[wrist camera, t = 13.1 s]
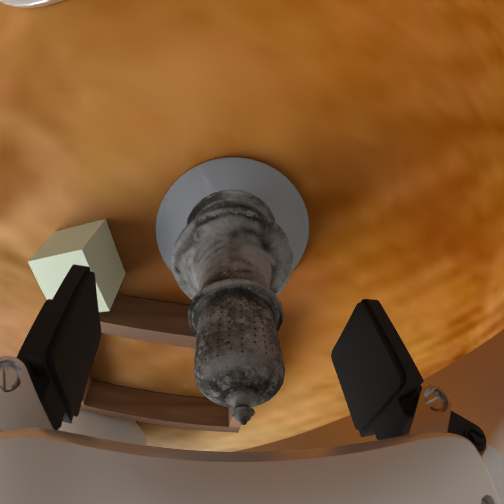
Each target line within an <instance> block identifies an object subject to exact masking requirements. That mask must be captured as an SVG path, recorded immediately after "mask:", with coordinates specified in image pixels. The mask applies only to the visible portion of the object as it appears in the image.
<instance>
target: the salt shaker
mask: <svg viewBox="0 0 504 504" xmlns="http://www.w3.org/2000/svg"><path fill="white" fill-rule="evenodd" d="M293 259H294V257H293V252H292V247H291V243H290V241H289V239H288V238H287V236H286V234H285V232H284V230H283V229H282V228H281V227H280V226H279V225H278V224H277V223H276V222H275V218H274V216H273V214H272V212H271V210H270V209H269V207H268V206H267V205H266V204H265V203H264V202H263V201H262V200H261V199H260V198H258V197H256V196H254V195H252V194H251V193H248V192H244V191H240V190H223V191H219V192H215V193H212V194H210V195H209V196H207V197H205V198H203V199H202V200H201V201H200V202H199V203H198V204H197V205H196V206H195V207H194V208H193V209H192V211H191V213H190V215H189V216H188V219H187V223H186V227H185V228H184V229H183V230H182V232H181V233H180V235H179V237H178V239H177V241H176V243H175V244H174V249H173V254H172V259H171V260H172V269H173V274H174V277H175V279H176V281H177V284H178V286H179V287H180V288H181V290H182V291H183V292H184V293H185V294H186V296H187V297H189V298H190V299H191V300H192V301H191V303H190V307H189V311H188V319H189V324H190V326H191V328H192V330H193V332H194V333H195V334H196V349H195V364H194V374H195V380H196V384H197V386H198V388H199V389H200V391H201V392H202V393H203V394H204V395H205V396H206V397H207V398H208V399H209V400H211V401H212V402H214V403H216V404H218V405H222V406H226V407H230V408H234V409H232V410H231V412H230V414H231V415H232V417H235V419H236V420H237V421H238V422H240V424H242V425H245V424H246V423H247V422H248V421H249V420H250V419H251V416H253V415H254V413H255V411H254V409H253V408H250V407H254V406H257V405H260V404H263V403H265V402H266V401H268V400H270V399H271V398H272V397H273V396H275V395H276V393H277V392H278V391H279V389H280V388H281V386H282V384H283V381H284V373H285V368H284V363H283V358H282V353H281V348H280V343H279V339H278V334H277V332H278V331H279V328H280V326H281V324H282V322H283V309H282V305H281V302H280V300H279V299H278V297H277V295H279V293H280V292H281V291H282V289H283V288H284V287H285V286H286V284H287V282H288V280H289V278H290V275H291V273H292V268H293Z"/></svg>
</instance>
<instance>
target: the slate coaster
mask: <svg viewBox="0 0 504 504" xmlns="http://www.w3.org/2000/svg"><path fill="white" fill-rule="evenodd" d="M223 190H240V191H244V192H248V193H251V194H252V195H254V196H256V197H258V198H260V199H261V200H262V201H263V202H264V203H265V204H266V205H267V206H268V207H269V209H270V210H271V212H272V214H273V216H274V218H275V222H276V223H277V224H278V225H279V226H280V227H281V228H282V229H283V230H284V232H285V234H286V236H287V238H288V239H289V241H290V243H291V247H292V252H293V257H294V259H293V268H292V271H293V270H294V268H295V267H296V266H297V264H298V263H299V261H300V259H301V258H302V256H303V254H304V251H305V249H306V245H307V241H308V236H309V219H308V213H307V209H306V207H305V204H304V201H303V199H302V197H301V195H300V194H299V192H298V191H297V189H296V188H295V186H294V185H293V184H292V182H291V181H290V180H289V179H288V178H287V177H286V176H285V175H284V174H282V173H281V172H280V171H278V170H277V169H275V168H274V167H272V166H270V165H268V164H266V163H264V162H261V161H259V160H255V159H251V158H247V157H238V156H229V157H220V158H214V159H211V160H208V161H204V162H202V163H200V164H198V165H195V166H194V167H192V168H191V169H189V170H187V171H186V172H185V173H183V174H182V175H181V176H180V177H179V178H178V179H177V180H176V181H175V182H174V183H173V184H172V185H171V187H170V188H169V190H168V191H167V193H166V195H165V196H164V198H163V201H162V203H161V205H160V207H159V211H158V214H157V219H156V240H157V245H158V248H159V251H160V254H161V256H162V258H163V260H164V262H165V263H166V265H167V267H168V268H169V269H170V270H171V272H172V273H173V269H172V260H171V259H172V254H173V249H174V244H175V243H176V241H177V239H178V237H179V235H180V233H181V232H182V230H183V229H184V228H185V227H186V223H187V219H188V216H189V215H190V213H191V211H192V209H193V208H194V207H195V206H196V205H197V204H198V203H199V202H200V201H201V200H202V199H203V198H205V197H207V196H209V195H210V194H212V193H215V192H219V191H223Z"/></svg>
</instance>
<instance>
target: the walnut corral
mask: <svg viewBox="0 0 504 504" xmlns="http://www.w3.org/2000/svg"><path fill="white" fill-rule="evenodd" d="M189 307H190V305H183V304H176V303H169V302H162V301H156V300H149V299H143V298H137V297H131V296H125V295H119V294H117V295H116V297H115V299H114V302H113V304H112V306H111V309H110V311H106V312H99V316H100V324H101V333H105V334H110V335H115V336H121V337H126V338H132V339H138V340H144V341H150V342H156V343H163V344H169V345H176V346H184V347H191V348H196V334H195V333H194V332H193V330H192V328H191V326H190V324H189V319H188V311H189ZM80 409H81V410H85V411H89V412H93V413H98V414H102V415H106V416H111V417H116V418H121V419H126V420H131V421H137V422H143V423H149V424H155V425H162V426H169V427H177V428H186V429H195V430H206V431H219V432H237V433H238V432H239V429H240V427H241V424H240V422H238V421H237V420H236V419H235V417H232V415H231V414H230V412H231V410H232V409H234V408H230V407H226V406H222V405H218V404H216V403H214V402H212V401H211V400H209V399H205V398H195V397H187V396H179V395H171V394H164V393H157V392H151V391H145V390H139V389H133V388H128V387H122V386H117V385H112V384H107V383H103V382H98V381H94V380H91V376H90V374H89V377H88V381H87V385H86V388H85V392H84V396H83V400H82V403H81V407H80Z"/></svg>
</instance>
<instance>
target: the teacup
mask: <svg viewBox="0 0 504 504" xmlns="http://www.w3.org/2000/svg"><path fill="white" fill-rule="evenodd" d="M59 431H65V432H70V433H75V434H81V435H86V436H91V437H96V438H101V439H107V440H112V441H118V442H124V443H131V444H138V445H145V446H146V439H145V435H144V433H143V431H142V429H141V427H140V426H139V425H138V424H137V422H136V421H131V420H126V419H121V418H116V417H111V416H106V415H102V414H98V413H93V412H89V411H85V410H81V409H80V411H79V415H78V416H77V417H75V416H73V420H72V424H70V423H66V422H62V425H61V428H59Z"/></svg>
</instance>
